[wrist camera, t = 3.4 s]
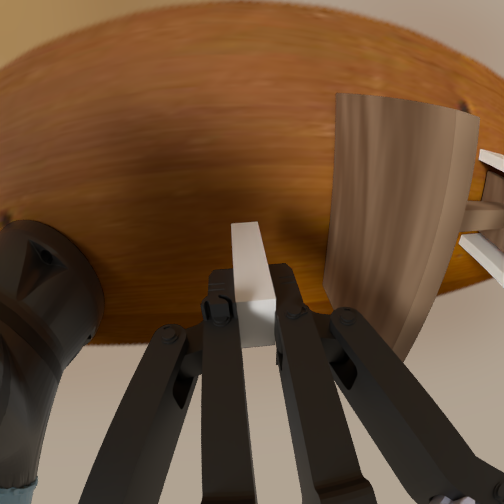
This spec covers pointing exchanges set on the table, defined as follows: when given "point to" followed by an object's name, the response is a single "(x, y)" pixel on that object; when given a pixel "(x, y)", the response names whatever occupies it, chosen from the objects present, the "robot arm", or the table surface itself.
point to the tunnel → (477, 244)
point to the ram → (402, 209)
